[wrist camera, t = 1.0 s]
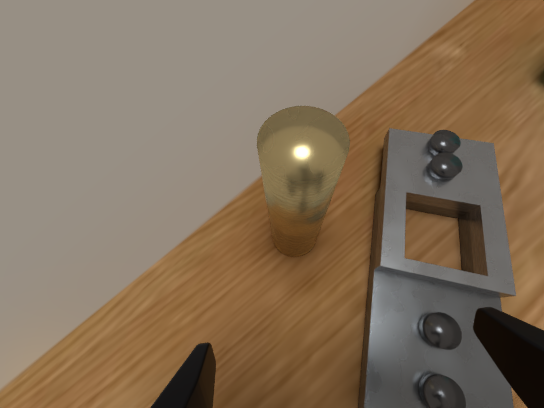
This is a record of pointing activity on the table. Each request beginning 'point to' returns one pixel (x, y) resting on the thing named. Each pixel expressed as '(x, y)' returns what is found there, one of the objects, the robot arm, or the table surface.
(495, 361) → the robot arm
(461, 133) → the table surface
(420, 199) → the bolted metal plate
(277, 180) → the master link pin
